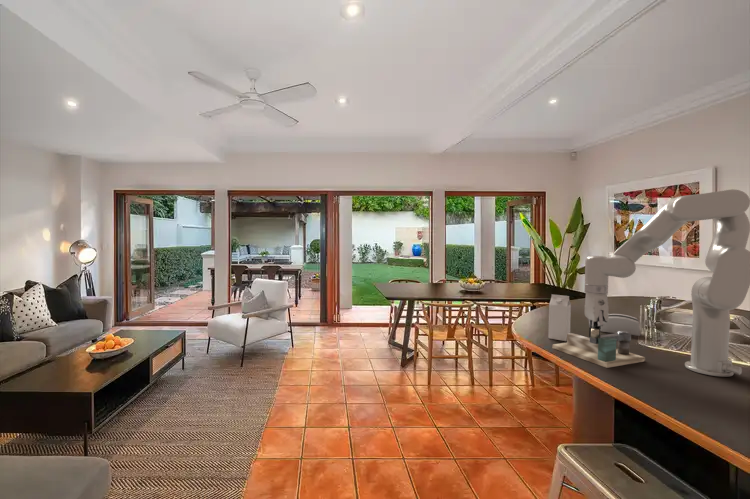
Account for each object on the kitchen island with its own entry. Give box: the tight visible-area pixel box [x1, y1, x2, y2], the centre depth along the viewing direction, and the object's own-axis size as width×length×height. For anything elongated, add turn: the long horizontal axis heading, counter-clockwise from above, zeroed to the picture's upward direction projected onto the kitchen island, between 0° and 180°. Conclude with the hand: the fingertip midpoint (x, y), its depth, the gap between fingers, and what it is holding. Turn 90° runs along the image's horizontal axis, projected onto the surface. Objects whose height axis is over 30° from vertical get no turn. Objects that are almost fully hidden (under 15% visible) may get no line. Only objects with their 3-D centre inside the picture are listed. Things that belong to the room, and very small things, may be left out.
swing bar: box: [590, 327, 632, 344], centre depth 143 cm, size 18×4×6 cm, turn 112°
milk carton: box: [548, 293, 572, 342], centre depth 171 cm, size 7×7×19 cm
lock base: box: [552, 332, 646, 369], centre depth 149 cm, size 24×19×9 cm
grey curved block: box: [600, 313, 641, 337], centre depth 181 cm, size 17×5×10 cm, turn 60°
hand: (594, 338), depth 145 cm, fingers closed
